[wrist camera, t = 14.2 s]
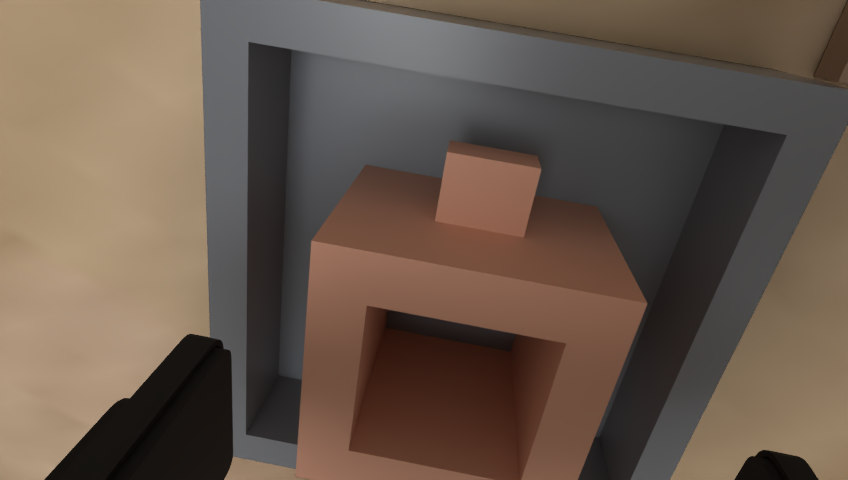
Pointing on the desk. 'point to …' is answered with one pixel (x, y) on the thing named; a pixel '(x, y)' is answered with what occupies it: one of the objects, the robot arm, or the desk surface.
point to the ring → (467, 304)
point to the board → (836, 53)
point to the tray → (559, 179)
